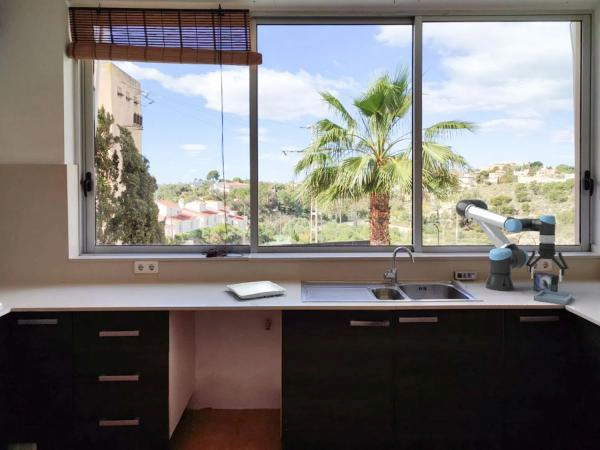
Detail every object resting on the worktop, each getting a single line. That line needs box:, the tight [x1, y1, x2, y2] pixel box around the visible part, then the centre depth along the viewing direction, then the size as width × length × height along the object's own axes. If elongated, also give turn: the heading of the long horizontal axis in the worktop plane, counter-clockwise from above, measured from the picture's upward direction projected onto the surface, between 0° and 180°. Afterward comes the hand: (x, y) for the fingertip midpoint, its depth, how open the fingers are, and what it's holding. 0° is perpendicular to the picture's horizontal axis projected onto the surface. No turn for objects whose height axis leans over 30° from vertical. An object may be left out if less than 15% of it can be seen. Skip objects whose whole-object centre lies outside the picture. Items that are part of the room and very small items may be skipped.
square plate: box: [226, 280, 287, 300], centre depth 217 cm, size 27×27×4 cm
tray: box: [533, 290, 574, 306], centre depth 200 cm, size 14×18×2 cm
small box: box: [532, 271, 559, 293], centre depth 216 cm, size 11×6×10 cm, turn 23°
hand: (546, 279), depth 215 cm, fingers open, 13 cm apart
